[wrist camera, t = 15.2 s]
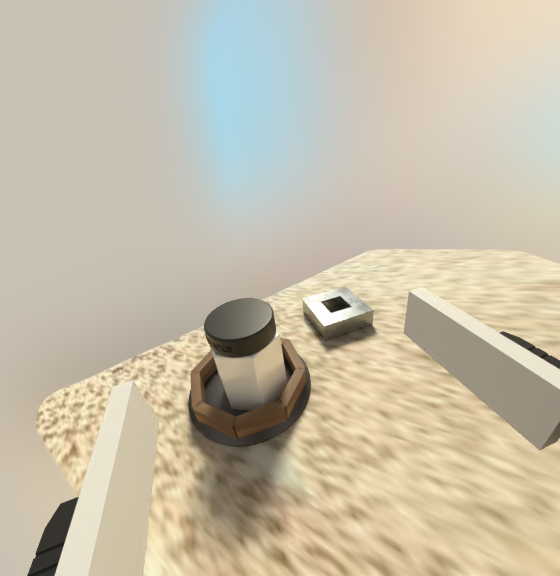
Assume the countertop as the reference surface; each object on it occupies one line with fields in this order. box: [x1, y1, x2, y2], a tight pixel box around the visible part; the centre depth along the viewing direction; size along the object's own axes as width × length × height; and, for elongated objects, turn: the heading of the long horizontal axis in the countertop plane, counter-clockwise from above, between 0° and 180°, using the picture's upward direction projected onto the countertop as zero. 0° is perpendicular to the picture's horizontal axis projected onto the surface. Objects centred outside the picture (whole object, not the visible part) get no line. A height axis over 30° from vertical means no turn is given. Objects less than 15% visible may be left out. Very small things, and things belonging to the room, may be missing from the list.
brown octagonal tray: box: [189, 338, 311, 446], centre depth 36 cm, size 17×17×3 cm
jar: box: [204, 298, 288, 411], centre depth 33 cm, size 9×8×12 cm
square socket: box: [302, 286, 373, 340], centre depth 47 cm, size 9×9×3 cm
